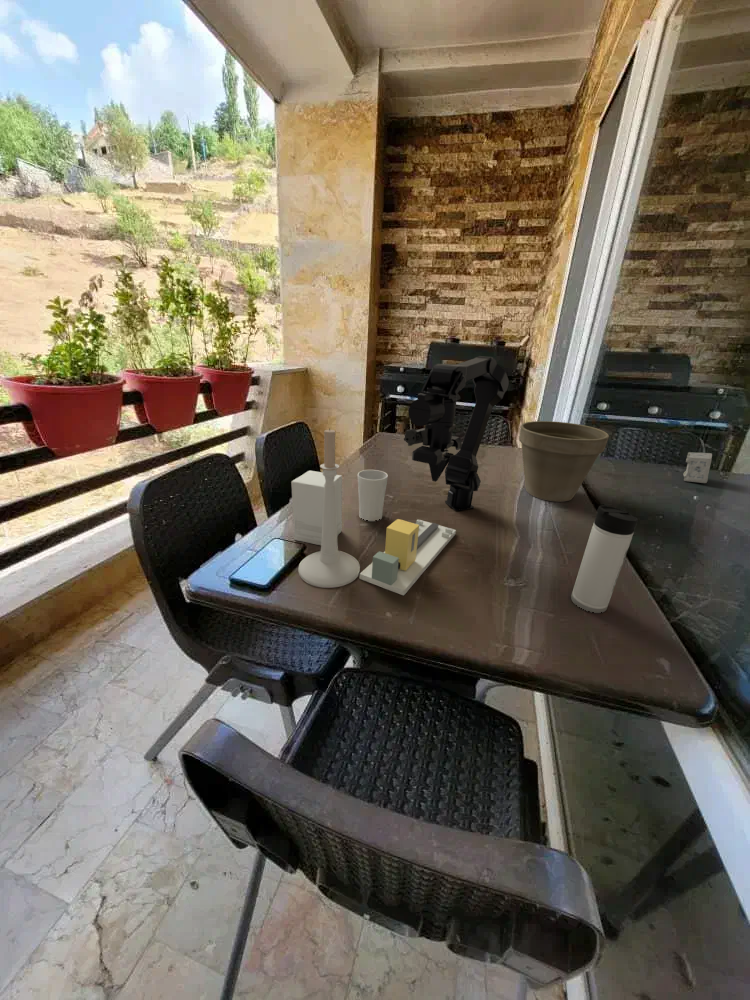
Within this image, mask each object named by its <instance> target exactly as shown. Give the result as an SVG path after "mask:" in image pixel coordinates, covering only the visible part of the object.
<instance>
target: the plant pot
mask: <svg viewBox="0 0 750 1000" xmlns="http://www.w3.org/2000/svg"><path fill="white" fill-rule="evenodd" d="M518 437H519V438H518V441H519V443H521V452H522V453H521V454H522V467H523V476H524V485H525V490H526V492H527V493H528V494H529V495H531V496H532V497H534V498H537V499H540V500H544V501H548V502H556V503H559V502H561V503H563V502H568V501H571V500H573V498H574V497H575V495H576V493H578V491H579V489H580V487H581V485H582V484H583V483H584V481H585V479H586V478H587V476H588V473H590V470H592V469H591V468H592V467H593V465H594V464H595V462H596V460H597V459H598V457H599V455H600V454H603V453H604V451H605V449H606V446H607V444H608V440H609V437H610V435H609V434H608V433H607V432H606V431H604V430H601V429H599V428H596V427H593V426H588V425H583V424H579V423H572V422H564V421H553V420H552V421H549V420H538V421H537V420H533V421H526V422H524V423H521V425H520V427H519V435H518Z"/></svg>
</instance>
